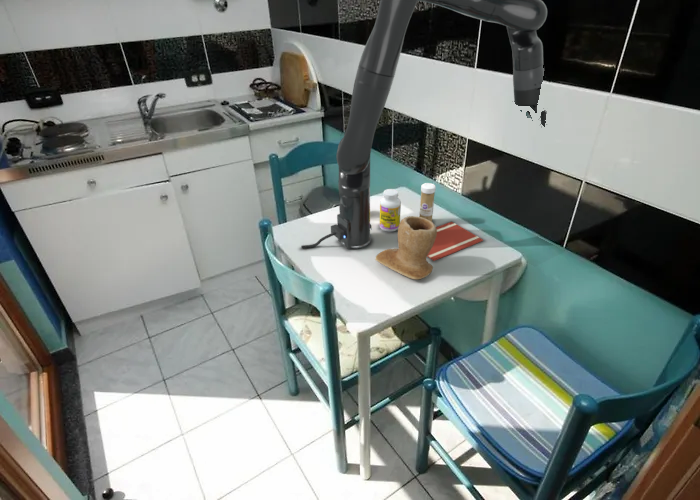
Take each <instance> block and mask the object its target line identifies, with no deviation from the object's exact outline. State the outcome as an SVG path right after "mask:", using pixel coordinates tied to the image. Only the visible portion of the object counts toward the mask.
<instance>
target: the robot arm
mask: <svg viewBox="0 0 700 500" xmlns="http://www.w3.org/2000/svg"><path fill="white" fill-rule="evenodd" d="M418 2H424V3H428V4H433V5H436V6H439V7H442V8H444V9H448V10H450V11H453V12H456V13H458V14H461V15H464V16H467V17H470V18H473V19H477V20H479V21H480V20H481V21H484V22H488V23H495V24H499V25H502V26H505V27H506V30H507V35H508V38H509V44H510V46H511V51H512V70H513V71H512V72H513V73H512V82H513V83H512V84H513V99H514V100H513V101H514V102H515V104H516V105H518V106H530V107H531V108H532V109H533V110H534V111H535V113H537V105H538V104H537V103H538V100H539V95H540V89H541V84H542V82H543V76H544V71H545V67H544V68H543V65H544V45H543V42H542V40H541V39H540V37H539V36H538V34H537V30H539V29H540V28H541V27H542V26H543V25H544V24H545V22H546V20H547V17H548V8H547V5H546V4H545V2H544V1H543V0H380V1H379V6H378V10H377V15H376V19H375V23H374V26H373V28H372V30H371V33H370V34H369V37H368V39H367V41H366V44H365V45H364V48H363V51H362V53H361V56H360V59H359V62H358V66H357V70H356V74H355V78H354V83H353V88H352V95H351V100H350V101H351V102H350V107H349V108H350V110H349V117H348V122H347V126H346V129H345V132H344V134H343V137H342V138H341V139H340V141H339V142H338V145H337V150H336V155H335V156H336V157H335V158H336V159H335V160H336V163H337V166H338V180H337V181H338V182H337V185H338V186H337V187H338V205H339V207H338V209H339V213H337V215H336V221H337V223H335V224H333V225H330V233H329V234H327V235H324V236H323V237H321V238H319V239H318V240H317V242H316V243H312V244H305V245H304V244H303V245H301V247H300V248H301V249H311V248H315V247H317V246H319V245H320V244H321V243H322V242H324V241H325V240H326V239H329V238H331V237H333V236H334V237H335V238H336V239H337V241H338V242H339V243H340V244H341V245H342V246H343V247H344V248H345V249H347V250H351V249H353V250H355V249H356V250H357V249H362V248H366V247H367V246H368V245H370V243H371V231H372V228H373V227H372V226H373V225H372V223H371V153H372V148H373V147H372V146H373V142H374V137H375V134H376V133H375V132H376V130H377V126H378V124H379V121H380V119H381V116H382V114H383V111H384V109H385V106H386V103H387V101H388V98H389V95H390V91H391V89H392V86H393V82H394V79H395V76H396V72H397V68H398V64H399V62H400V58H401V57H400V56H401V53H402V49H403V45H404V40H405V35H406V33H407V30H408V27H409V25H410V20H411V18H412V16H413V14H414V12H415V8H416V5H417V3H418ZM520 111H521V112H522V110H520ZM546 114H547V111H546V110H544V111H542V112H541V116H540V118H541V120H540V121H541V124H542V125H543V126H544V127H545V123H546V121H545V120H546ZM526 116H527V118H531V119H532V117H531V115H530V112H529V111H527V112H526ZM540 118H539V119H540ZM532 121H533V120H532ZM541 124H540V125H541Z"/></svg>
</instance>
